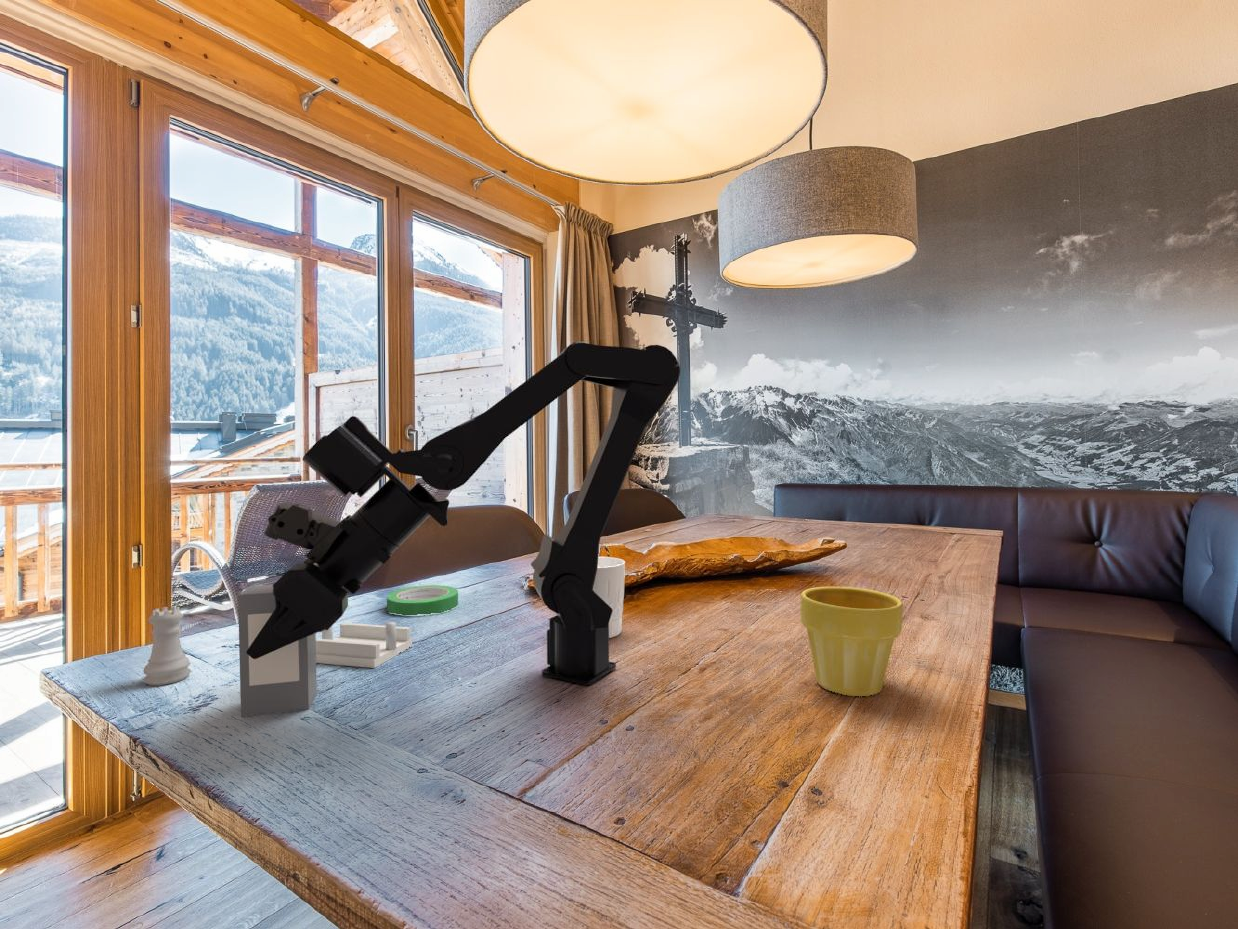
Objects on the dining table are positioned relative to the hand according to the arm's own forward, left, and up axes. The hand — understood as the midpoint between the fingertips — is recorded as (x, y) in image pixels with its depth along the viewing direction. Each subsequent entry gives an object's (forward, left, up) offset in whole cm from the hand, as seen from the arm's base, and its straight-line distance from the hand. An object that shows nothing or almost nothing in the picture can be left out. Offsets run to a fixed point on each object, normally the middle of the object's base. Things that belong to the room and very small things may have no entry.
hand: (264, 641), depth 62 cm
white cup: (-17, -37, -7) cm, 41 cm away
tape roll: (+15, -35, -7) cm, 39 cm away
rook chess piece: (+17, +1, -7) cm, 18 cm away
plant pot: (-51, -34, -7) cm, 62 cm away
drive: (-1, -1, -7) cm, 7 cm away
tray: (+5, -15, -7) cm, 17 cm away
